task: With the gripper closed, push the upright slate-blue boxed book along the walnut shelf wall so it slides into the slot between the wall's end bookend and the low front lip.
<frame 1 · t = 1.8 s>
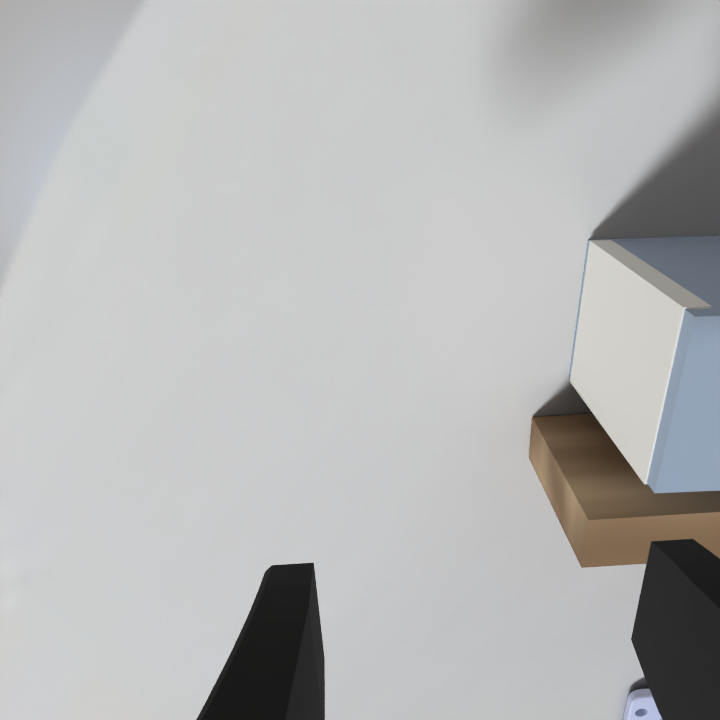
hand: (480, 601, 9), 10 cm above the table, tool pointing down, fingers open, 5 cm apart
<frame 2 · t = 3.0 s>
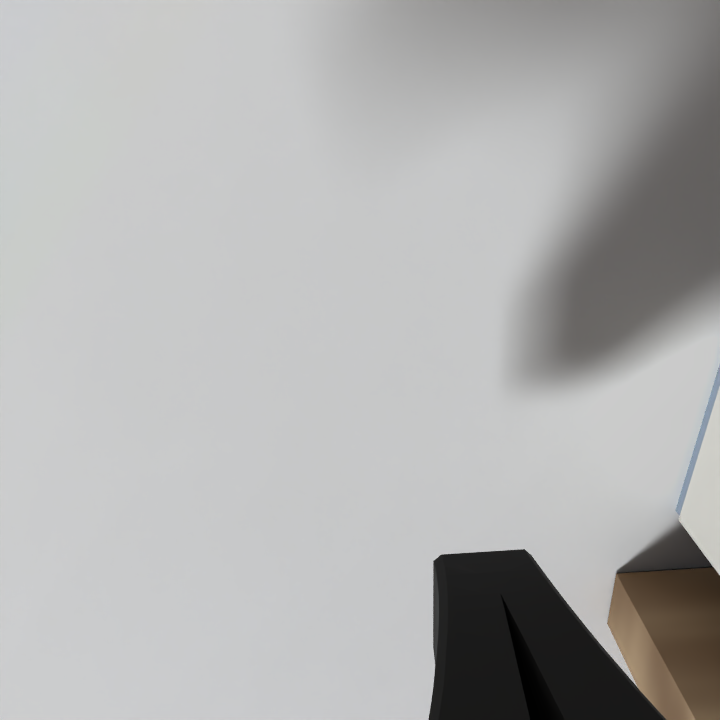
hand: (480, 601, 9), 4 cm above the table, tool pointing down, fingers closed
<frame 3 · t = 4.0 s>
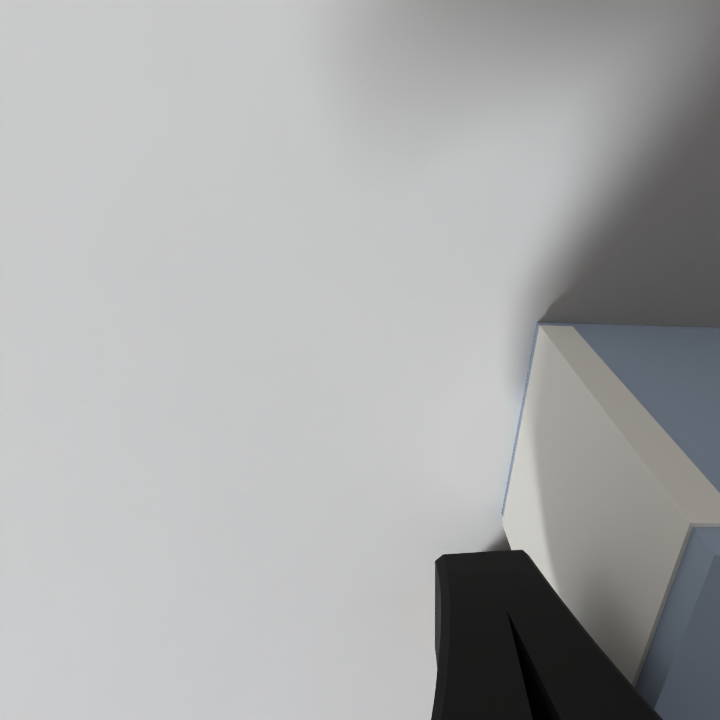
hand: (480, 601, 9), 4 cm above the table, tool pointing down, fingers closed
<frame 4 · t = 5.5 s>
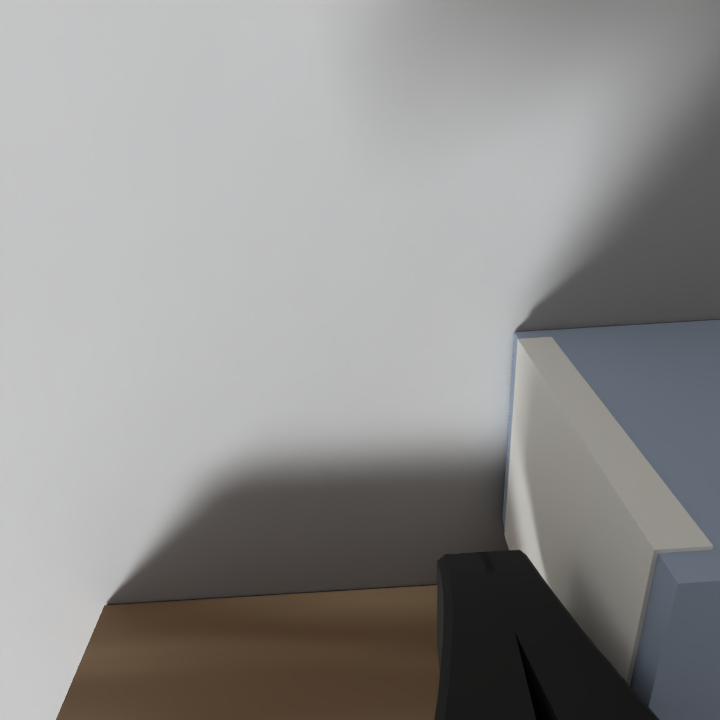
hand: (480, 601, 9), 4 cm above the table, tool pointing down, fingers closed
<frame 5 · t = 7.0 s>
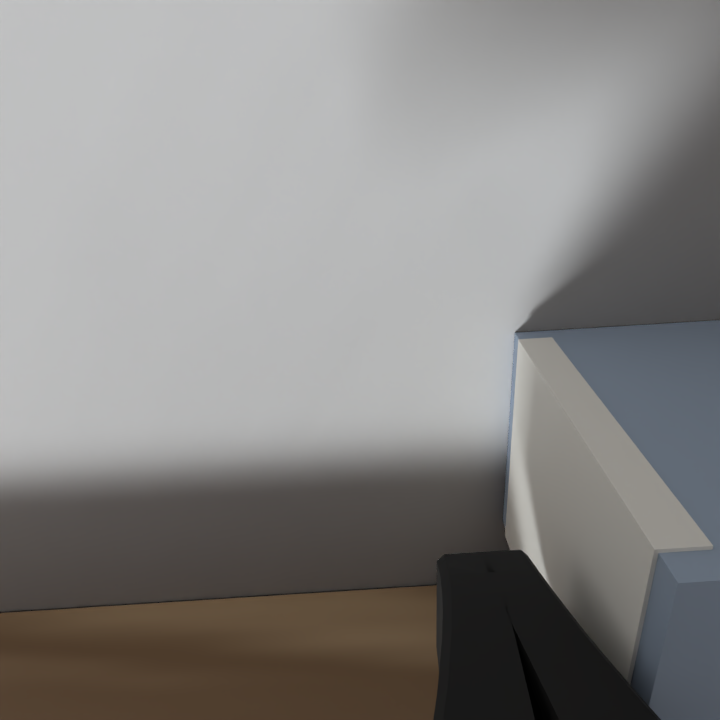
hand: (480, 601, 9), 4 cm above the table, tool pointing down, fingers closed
walnut shelf: (542, 454, 12), on the table
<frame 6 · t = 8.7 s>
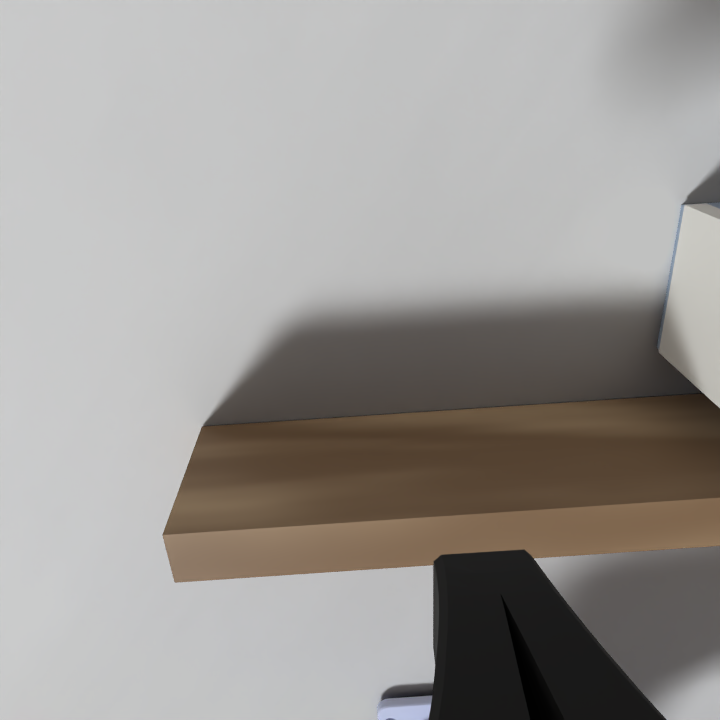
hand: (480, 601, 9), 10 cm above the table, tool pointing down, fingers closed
walnut shelf: (686, 296, 18), on the table
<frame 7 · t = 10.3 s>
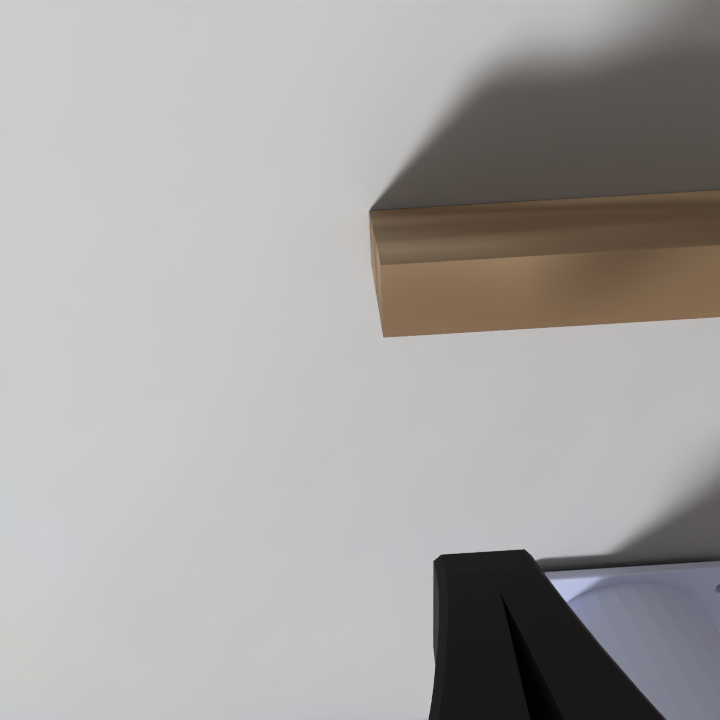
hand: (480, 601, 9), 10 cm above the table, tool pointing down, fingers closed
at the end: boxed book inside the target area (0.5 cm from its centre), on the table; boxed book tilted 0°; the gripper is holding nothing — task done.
